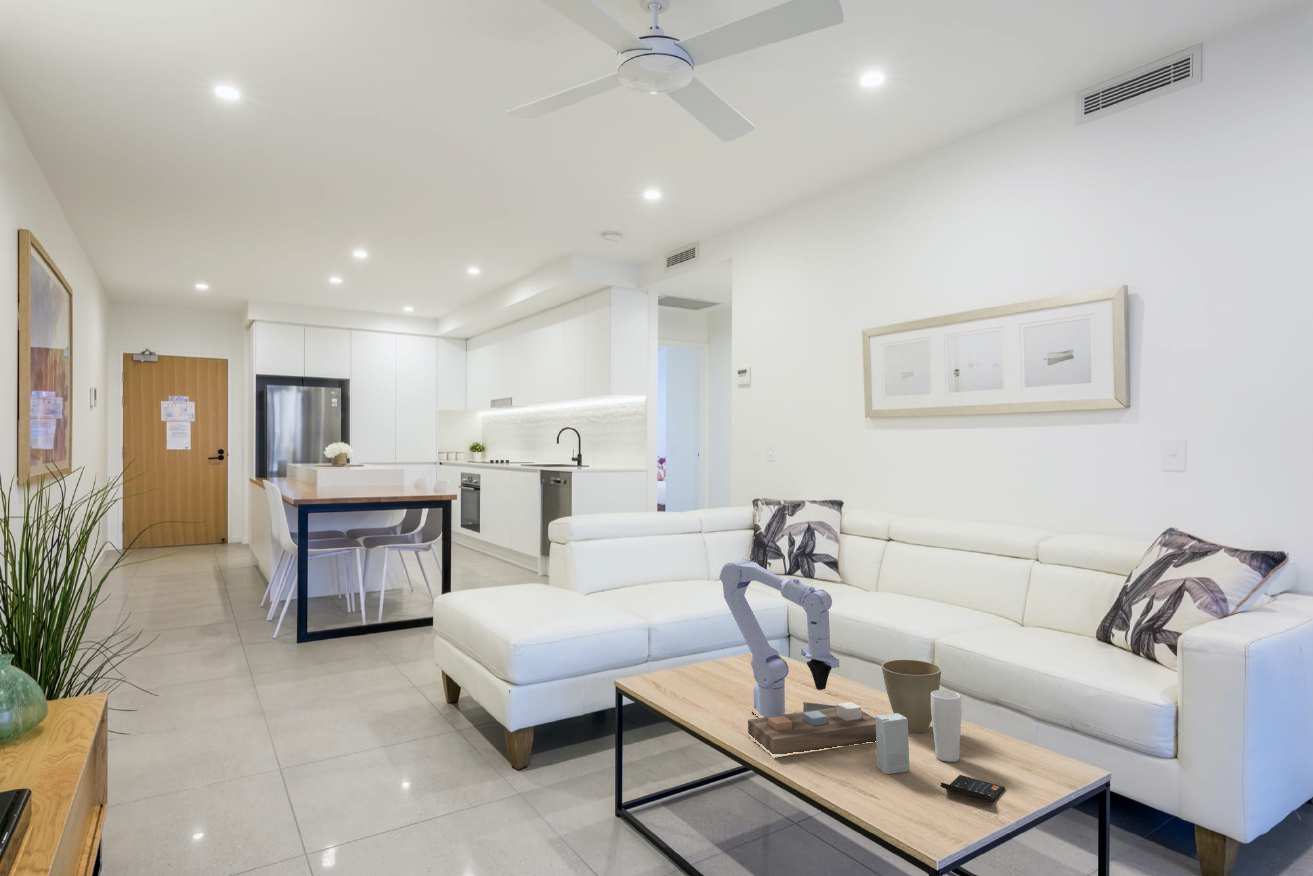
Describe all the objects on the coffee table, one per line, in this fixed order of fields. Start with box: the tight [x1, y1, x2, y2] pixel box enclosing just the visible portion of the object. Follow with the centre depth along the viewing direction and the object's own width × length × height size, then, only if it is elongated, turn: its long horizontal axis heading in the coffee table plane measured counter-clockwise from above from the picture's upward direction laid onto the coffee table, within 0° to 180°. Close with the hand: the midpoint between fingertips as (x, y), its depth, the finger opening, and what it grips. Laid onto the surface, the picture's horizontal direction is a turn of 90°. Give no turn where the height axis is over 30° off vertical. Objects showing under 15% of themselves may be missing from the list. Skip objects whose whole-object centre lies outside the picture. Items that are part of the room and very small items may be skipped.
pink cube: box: [768, 716, 792, 731], centre depth 178 cm, size 4×4×4 cm
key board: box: [747, 706, 876, 754], centre depth 181 cm, size 14×31×4 cm, turn 108°
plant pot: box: [881, 659, 942, 733], centre depth 188 cm, size 15×15×16 cm
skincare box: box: [875, 713, 910, 775], centre depth 163 cm, size 6×4×12 cm
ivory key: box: [836, 701, 862, 721], centre depth 184 cm, size 4×4×4 cm
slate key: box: [803, 710, 827, 726], centre depth 181 cm, size 4×4×4 cm
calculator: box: [940, 774, 1006, 804], centre depth 151 cm, size 9×12×3 cm
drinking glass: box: [931, 689, 963, 763], centre depth 168 cm, size 7×7×15 cm
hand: (820, 688), depth 188 cm, fingers closed
